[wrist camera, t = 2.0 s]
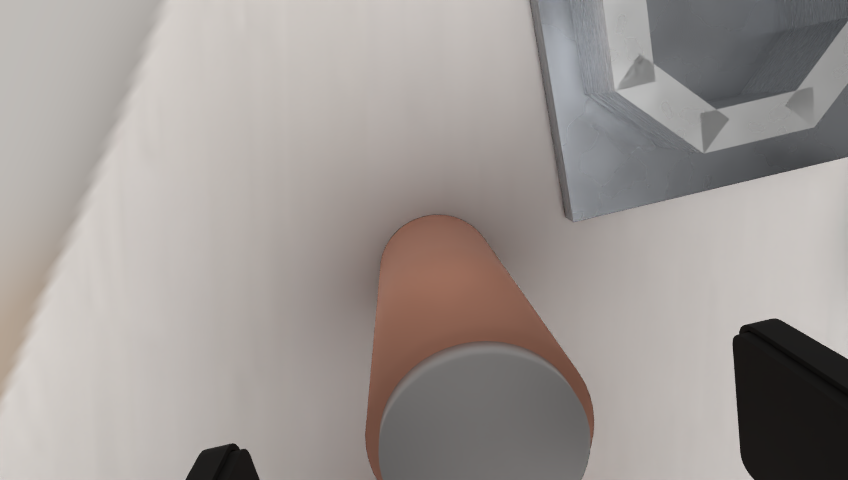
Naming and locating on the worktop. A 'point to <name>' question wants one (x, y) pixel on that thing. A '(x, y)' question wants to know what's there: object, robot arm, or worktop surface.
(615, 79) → the ring block
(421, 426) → the cylinder
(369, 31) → the worktop surface
